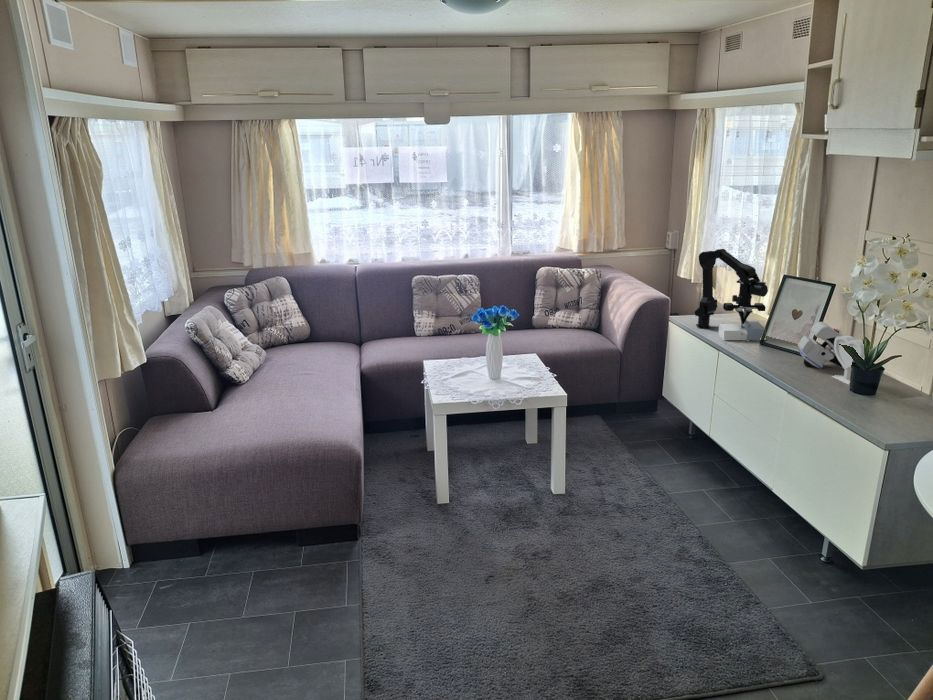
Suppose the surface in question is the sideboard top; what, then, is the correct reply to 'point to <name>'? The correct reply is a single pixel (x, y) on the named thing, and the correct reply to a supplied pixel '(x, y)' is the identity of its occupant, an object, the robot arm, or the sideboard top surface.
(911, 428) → the sideboard top surface
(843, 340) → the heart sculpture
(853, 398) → the sideboard top surface
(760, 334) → the cabinet
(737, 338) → the housing
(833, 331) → the robotic device
